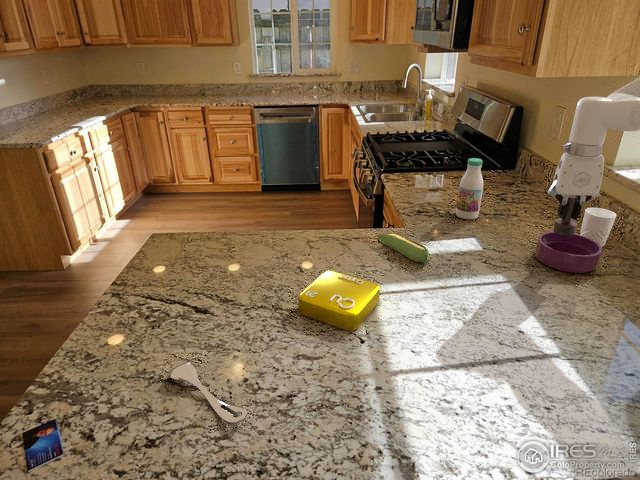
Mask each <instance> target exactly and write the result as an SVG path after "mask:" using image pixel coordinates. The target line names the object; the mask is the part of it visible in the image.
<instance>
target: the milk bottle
mask: <svg viewBox="0 0 640 480" xmlns="http://www.w3.org/2000/svg"><path fill="white" fill-rule="evenodd" d="M483 163H484V162H483V160H482V158H478V157H477V158H476V157H471V158H468V160H467V168H466V171H465V172H464V174H463V176H462V177H461V179H460V182H459V187H458V191H457V192H458V193H457V199H456V207H455V215H456V217H457V218H460V219H463V220H476V219H478V217H479V216H480V209H481V204H482V198H483V192H484V179H483V175H482V167H483Z"/></svg>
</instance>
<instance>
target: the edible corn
mask: <svg viewBox="0 0 640 480" xmlns="http://www.w3.org/2000/svg"><path fill="white" fill-rule="evenodd" d="M376 237H377V239H378V240H379V241H380V243H382V244H384V245H385V246H387V247H389V248H391V249H393V250H395V251H396V252H397V253H399V254H400V255H402V256H403V257H406V259H409V260H410V261H413V262H415V263H423V262H426V261H428V260H429V259H430V258H431V255H430V252H429V250H428V248H427V247H426V246H424V245H423V244H421V243H418V242H416V241H414V240H411V239H408V238H407V237H403V236H401V235H400V234H399V235H398V234H396V233H393V232H390V233H389V234H382V233H379V234H377V235H376Z"/></svg>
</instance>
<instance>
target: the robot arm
mask: <svg viewBox="0 0 640 480" xmlns="http://www.w3.org/2000/svg"><path fill="white" fill-rule="evenodd" d="M608 130H615V131H621V132H637V131H640V77H638V78H636V79H634V80H632V81H630V82H628V83H627V84H625V85H624V86H622V87H619V88H618V89H616V90H615V91H613V92H612V93H610V94H609V95H607V96H606V97H605V96H585V97H581V98H580V99H579V100H578V101H577V103H576V108H575V111H574V115H573V121H572V125H571V129H570V133H569V138H568V140H567V142H566V143H565V144H561V147H560V149H561V151H565V152H563V153H562V155H561V156H560V159H559V162H558V164H557V166H556V170H555V173H554V176H553V179H552V184H551V186H550V187H549V188H548V190H547V191H546V192H547V194H548V196H551V197H553V198H555V199H556V200H557V201H558V202H559V204H558V208H557V215H558V218H561V219H565V218H566V214H567V210H568V205H567V201H568V197H569V195H572V196H576V197H577V200H576V204H575V208H574V212H573V216H572V220H574V221H577V220H578V217H580V215H581V210H582V207H583V206H585V204H586V203H587V202H589V201H590V200H592V199H595V198H597V197H600V196H601V191H600V190H601V187H602V182H603V177H604V167H605V156H604V155H602V152H603V148H604V144H605V140H606V137H607V133H608Z"/></svg>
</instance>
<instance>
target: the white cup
mask: <svg viewBox="0 0 640 480" xmlns="http://www.w3.org/2000/svg"><path fill="white" fill-rule="evenodd" d="M583 213H584V214H583V218H582V222H581V227H580V232H579V233H580V234H579V235H582V236H585V237H587V238H590V239H592V240H594V241H595V242H597V243H598V244H599V245H600V246H601V247H602V248H603V247H605V245H606V243H607V240H608V238H609V236H610V233H611V231H612V229H613V226H614V224H615V221H616V219H617V213H616V212H614V211H612V210H611V209H610V210H609V209H606V208H602V207H587V208H586V209H584V212H583Z"/></svg>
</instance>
